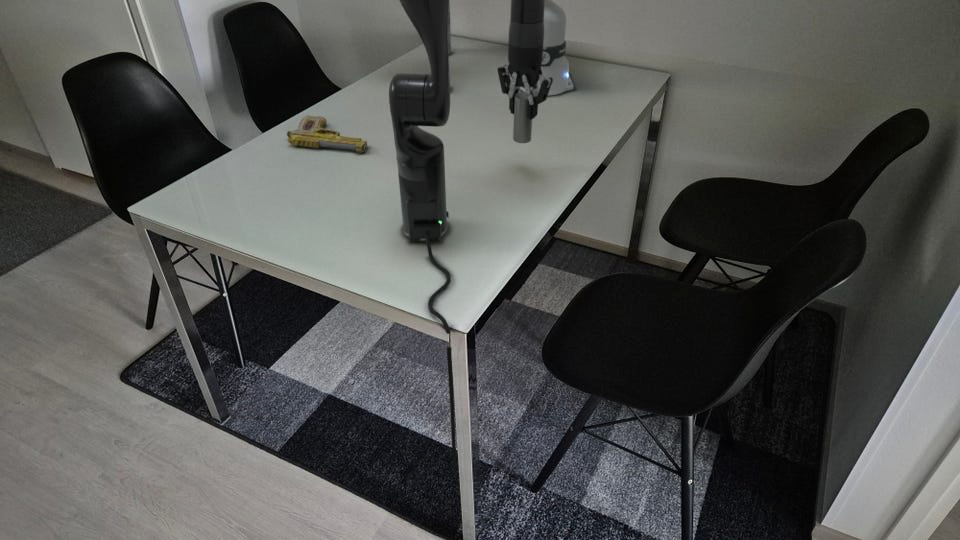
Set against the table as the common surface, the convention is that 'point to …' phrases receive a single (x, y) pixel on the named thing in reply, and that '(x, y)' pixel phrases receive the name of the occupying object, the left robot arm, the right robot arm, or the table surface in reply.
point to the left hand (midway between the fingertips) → (522, 115)
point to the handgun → (322, 136)
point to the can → (521, 119)
